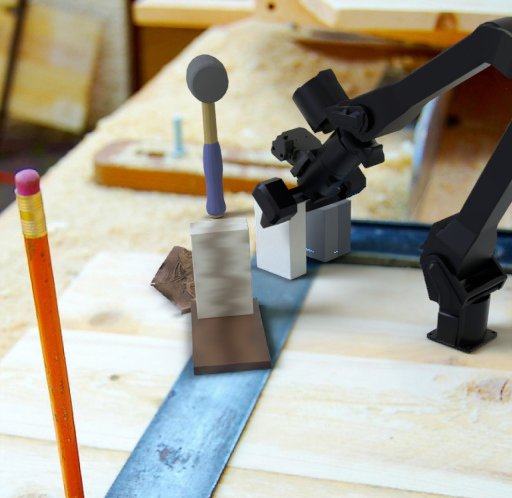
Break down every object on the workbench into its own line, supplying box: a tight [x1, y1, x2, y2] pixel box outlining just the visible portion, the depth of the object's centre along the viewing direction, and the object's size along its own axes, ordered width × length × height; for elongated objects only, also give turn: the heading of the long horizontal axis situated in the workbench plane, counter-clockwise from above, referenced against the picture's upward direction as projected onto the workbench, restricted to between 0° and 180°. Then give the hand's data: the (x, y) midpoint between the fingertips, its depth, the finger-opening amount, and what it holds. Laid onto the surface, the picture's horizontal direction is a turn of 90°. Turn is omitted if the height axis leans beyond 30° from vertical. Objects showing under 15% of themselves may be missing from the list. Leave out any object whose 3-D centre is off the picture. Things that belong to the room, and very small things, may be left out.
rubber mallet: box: [185, 53, 230, 219], centre depth 145 cm, size 12×8×30 cm, turn 2°
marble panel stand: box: [189, 216, 272, 376], centre depth 104 cm, size 10×19×14 cm, turn 179°
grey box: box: [305, 198, 352, 263], centre depth 128 cm, size 6×6×9 cm
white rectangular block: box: [253, 198, 307, 281], centre depth 122 cm, size 8×4×13 cm, turn 35°
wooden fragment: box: [150, 245, 197, 315], centre depth 126 cm, size 26×11×1 cm, turn 179°
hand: (284, 217), depth 120 cm, fingers open, 9 cm apart
